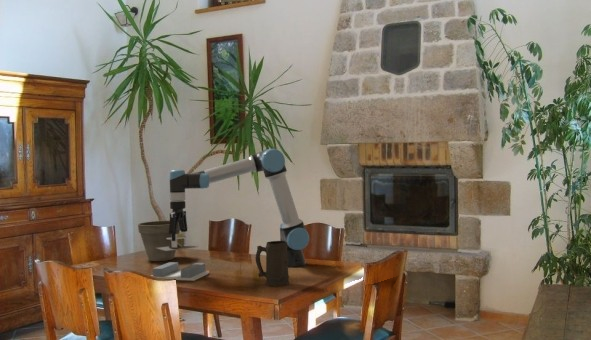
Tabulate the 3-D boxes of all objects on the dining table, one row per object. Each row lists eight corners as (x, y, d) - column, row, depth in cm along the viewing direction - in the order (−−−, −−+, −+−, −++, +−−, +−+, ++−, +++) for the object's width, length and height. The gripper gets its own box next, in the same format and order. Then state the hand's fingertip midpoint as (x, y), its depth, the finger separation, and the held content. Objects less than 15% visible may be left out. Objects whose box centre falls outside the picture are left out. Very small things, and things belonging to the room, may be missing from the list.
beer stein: (290, 281, 295) (286, 239, 295) (291, 285, 284) (287, 242, 284) (258, 284, 295) (254, 242, 294) (257, 289, 284) (253, 245, 283)
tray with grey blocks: (208, 273, 318) (208, 263, 318) (194, 280, 301) (193, 269, 301) (166, 272, 325) (166, 262, 325) (149, 278, 308) (148, 268, 307)
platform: (199, 246, 313) (198, 233, 312) (165, 250, 302) (165, 237, 302) (188, 244, 322) (187, 231, 322) (155, 247, 312) (155, 234, 311)
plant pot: (130, 262, 358) (129, 224, 357) (153, 255, 381) (152, 219, 380) (168, 263, 350) (167, 225, 349) (189, 256, 373) (188, 220, 373)
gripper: (180, 199, 323) (181, 242, 324) (160, 202, 303) (161, 249, 303) (193, 199, 321) (194, 243, 322) (174, 202, 301) (175, 249, 301)
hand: (178, 245), depth 313 cm, fingers closed on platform, 8 cm apart
